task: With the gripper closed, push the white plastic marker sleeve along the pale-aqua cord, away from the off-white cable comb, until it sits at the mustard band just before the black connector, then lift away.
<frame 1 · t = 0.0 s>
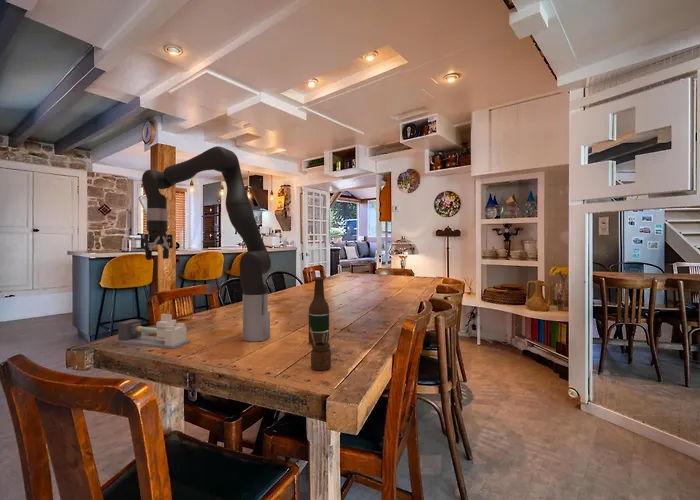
hand: (157, 259, 142), 29 cm above the table, tool pointing down, fingers open, 8 cm apart
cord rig: (153, 342, 126), on the table
beer bottle: (319, 342, 127), on the table
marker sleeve: (166, 326, 124), point 6 cm above the table, slide at 0.0 cm
utensil holder: (320, 367, 103), on the table
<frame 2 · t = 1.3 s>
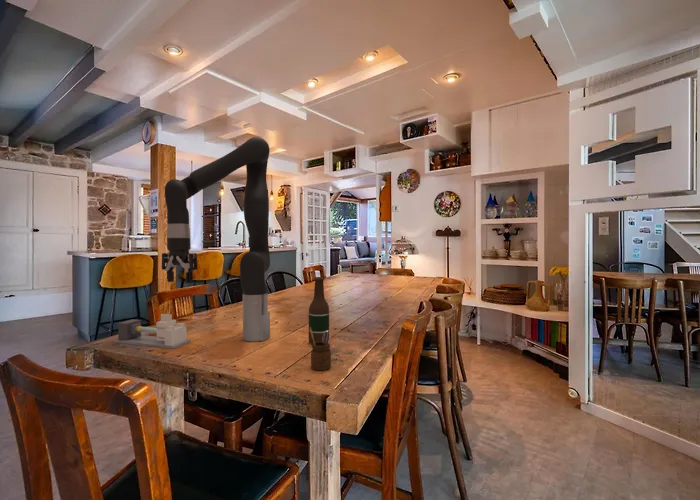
hand: (179, 282, 124), 22 cm above the table, tool pointing down, fingers open, 8 cm apart
nothing on the table moved.
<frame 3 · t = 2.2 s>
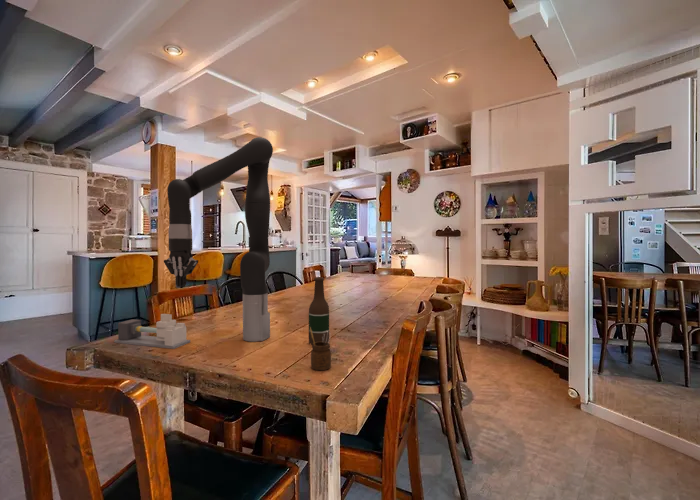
hand: (181, 286, 122), 21 cm above the table, tool pointing down, fingers closed
nothing on the table moved.
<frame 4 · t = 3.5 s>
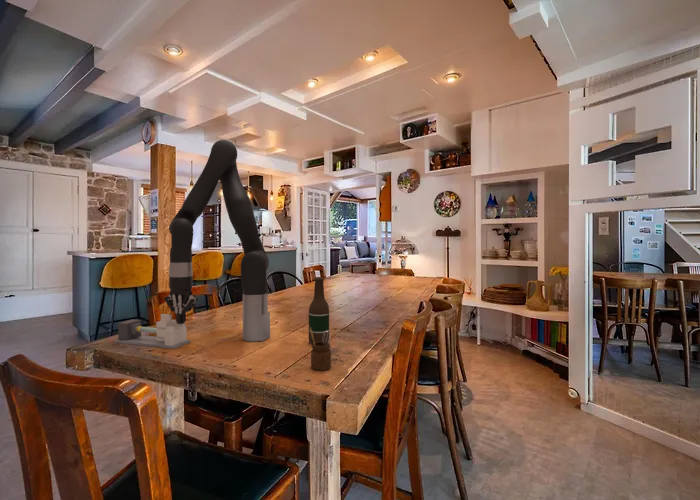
hand: (180, 323, 123), 8 cm above the table, tool pointing down, fingers closed
nothing on the table moved.
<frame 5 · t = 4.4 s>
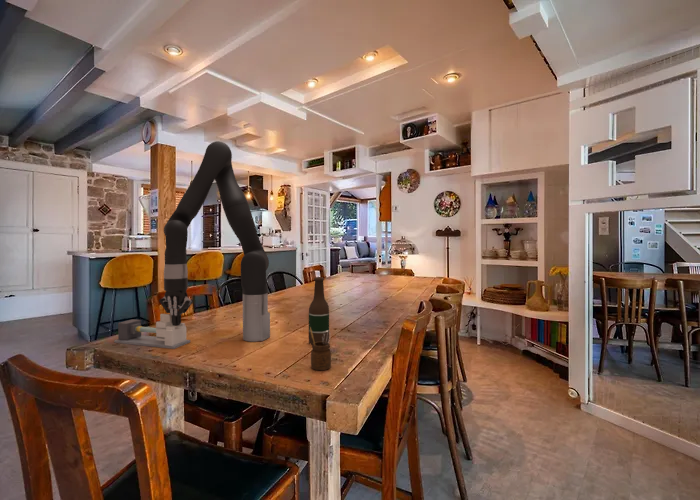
hand: (176, 325, 123), 7 cm above the table, tool pointing down, fingers closed
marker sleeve: (166, 326, 124), point 6 cm above the table, slide at 0.2 cm, touching gripper
everything else where it was.
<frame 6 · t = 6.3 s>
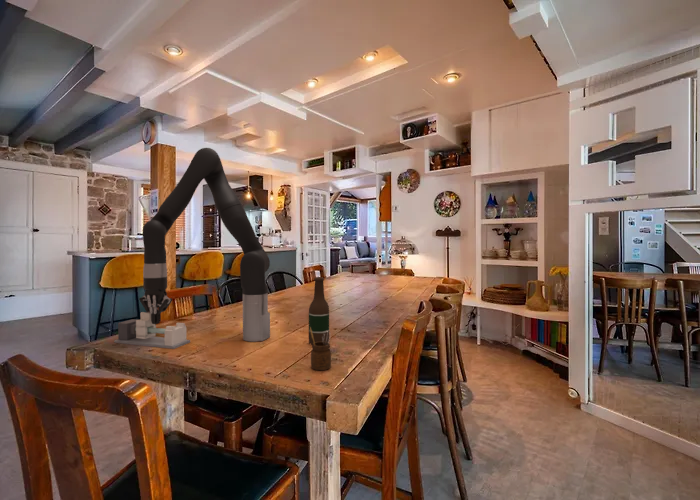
hand: (155, 323, 125), 7 cm above the table, tool pointing down, fingers closed
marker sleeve: (146, 324, 127), point 6 cm above the table, slide at 9.0 cm, touching gripper
everything else where it was.
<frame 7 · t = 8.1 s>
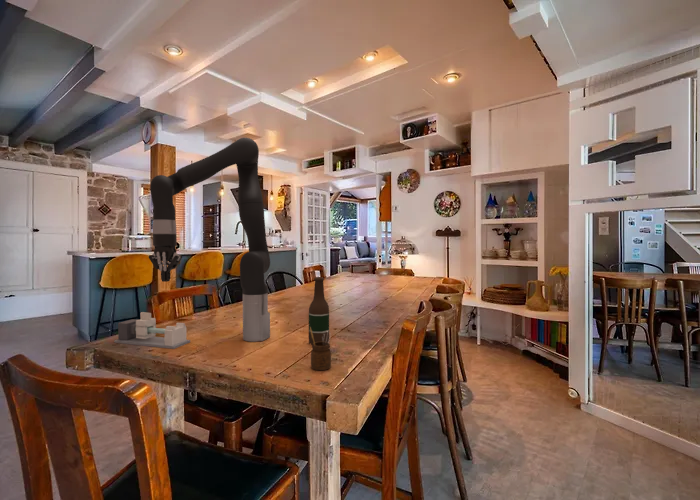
hand: (165, 281, 124), 23 cm above the table, tool pointing down, fingers closed
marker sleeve: (145, 324, 127), point 6 cm above the table, slide at 9.1 cm
everything else where it was.
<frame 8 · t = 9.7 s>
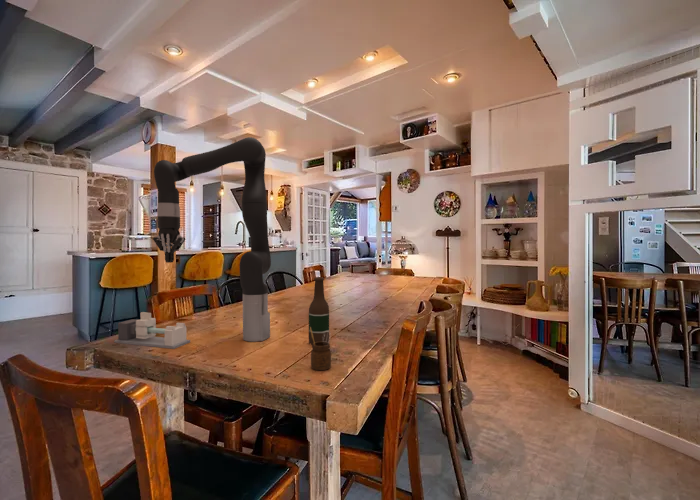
hand: (169, 262, 129), 29 cm above the table, tool pointing down, fingers closed
nothing on the table moved.
at the end: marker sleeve slide at 9.1 cm; the gripper is holding nothing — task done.
